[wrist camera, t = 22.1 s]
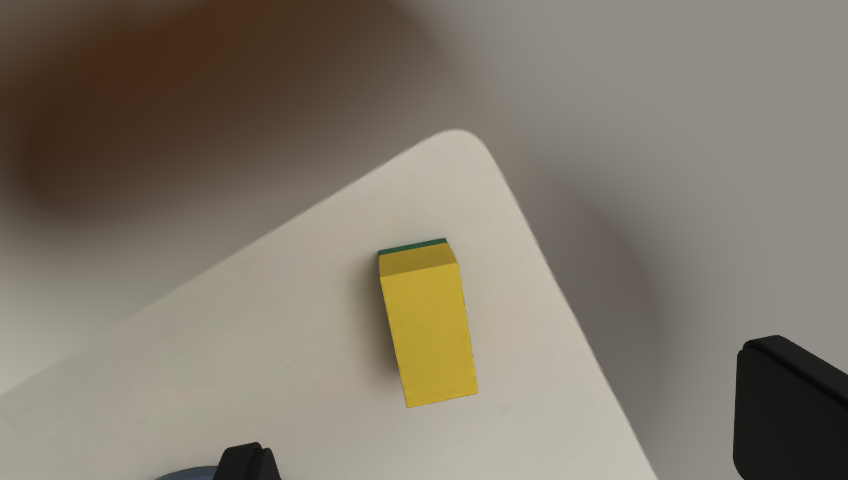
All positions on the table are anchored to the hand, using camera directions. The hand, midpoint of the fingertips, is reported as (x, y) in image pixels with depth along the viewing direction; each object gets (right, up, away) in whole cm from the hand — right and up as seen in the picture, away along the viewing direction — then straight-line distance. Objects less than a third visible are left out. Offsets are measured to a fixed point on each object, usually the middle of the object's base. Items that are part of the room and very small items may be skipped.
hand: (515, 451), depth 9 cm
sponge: (-2, 0, +24) cm, 24 cm away
